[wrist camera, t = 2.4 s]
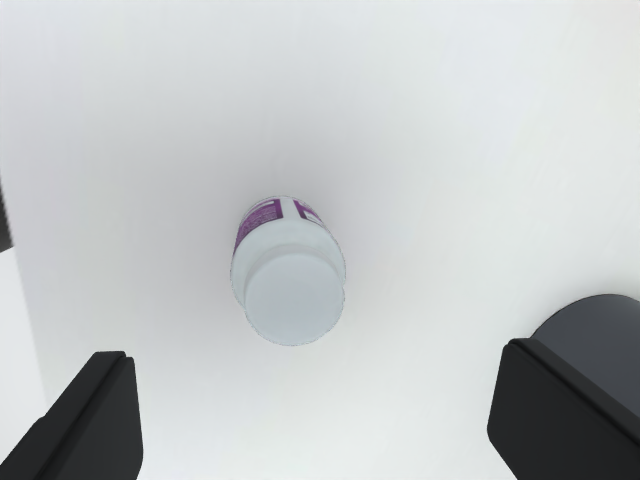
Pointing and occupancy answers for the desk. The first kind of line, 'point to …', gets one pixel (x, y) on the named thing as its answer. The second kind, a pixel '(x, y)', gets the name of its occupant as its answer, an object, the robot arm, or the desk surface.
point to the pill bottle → (287, 272)
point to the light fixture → (600, 343)
